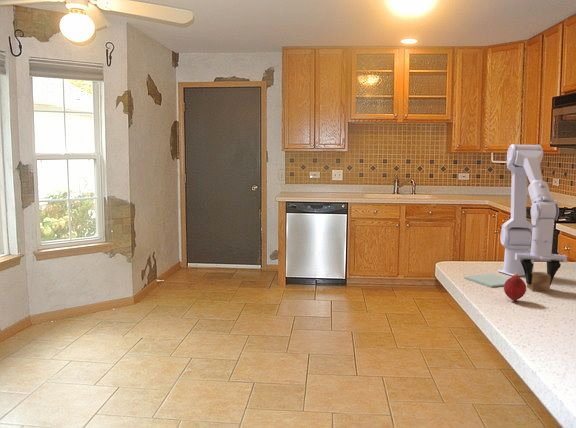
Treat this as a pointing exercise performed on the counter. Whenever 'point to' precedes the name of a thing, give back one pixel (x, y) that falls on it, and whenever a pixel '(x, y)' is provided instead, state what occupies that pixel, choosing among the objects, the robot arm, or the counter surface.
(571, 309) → the counter surface
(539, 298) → the counter surface
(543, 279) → the walnut cube
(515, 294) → the onion
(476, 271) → the counter surface
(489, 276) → the ceramic tile
